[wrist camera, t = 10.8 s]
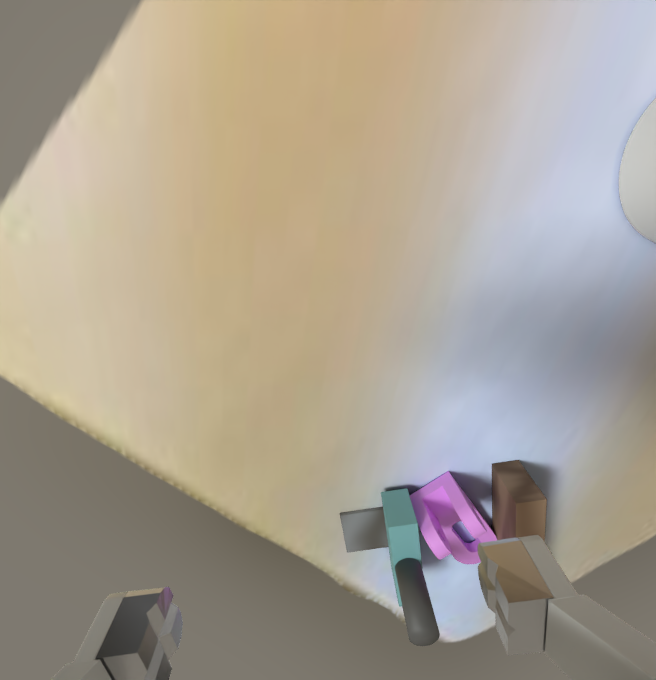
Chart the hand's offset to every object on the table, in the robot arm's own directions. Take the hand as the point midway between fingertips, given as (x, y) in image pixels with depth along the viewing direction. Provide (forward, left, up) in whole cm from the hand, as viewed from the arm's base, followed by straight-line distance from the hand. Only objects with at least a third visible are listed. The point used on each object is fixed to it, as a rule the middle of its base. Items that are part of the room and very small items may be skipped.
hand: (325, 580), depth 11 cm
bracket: (-12, +30, -29) cm, 43 cm away
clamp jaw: (-5, +30, -29) cm, 42 cm away
